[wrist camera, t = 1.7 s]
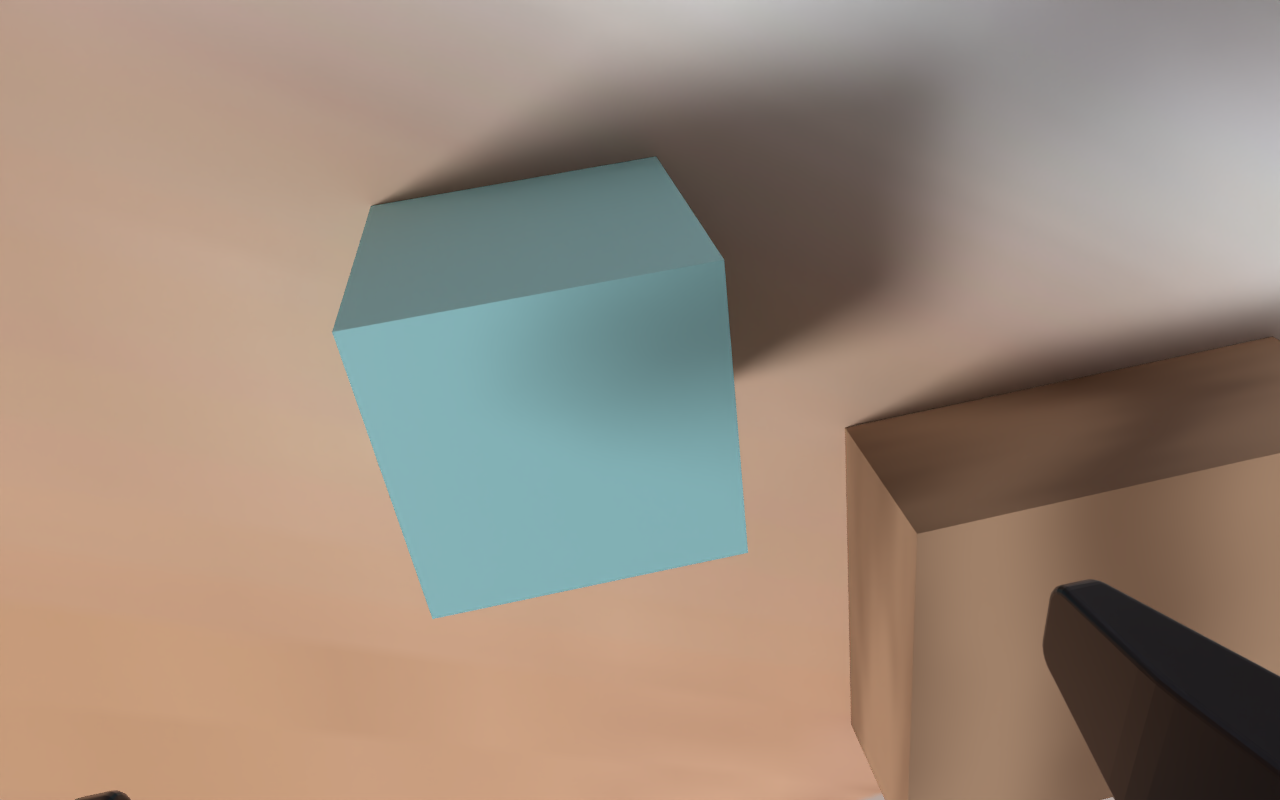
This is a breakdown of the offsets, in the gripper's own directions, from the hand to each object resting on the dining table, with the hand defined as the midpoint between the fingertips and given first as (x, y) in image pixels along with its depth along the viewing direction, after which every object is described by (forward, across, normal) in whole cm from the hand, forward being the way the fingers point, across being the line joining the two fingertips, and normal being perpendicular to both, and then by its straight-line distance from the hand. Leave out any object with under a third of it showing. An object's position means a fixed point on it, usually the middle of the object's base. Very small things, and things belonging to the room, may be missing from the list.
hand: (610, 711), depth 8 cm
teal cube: (+10, 0, 0) cm, 10 cm away
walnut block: (+10, -11, +9) cm, 17 cm away
